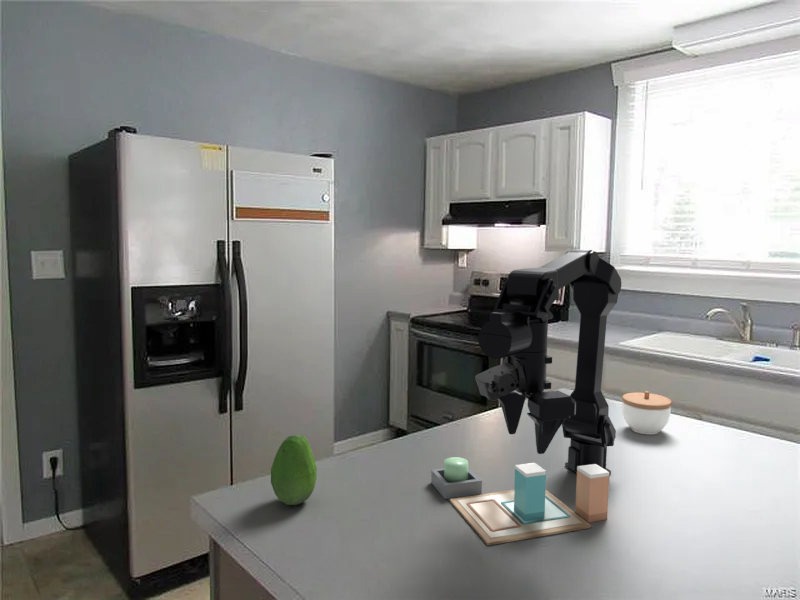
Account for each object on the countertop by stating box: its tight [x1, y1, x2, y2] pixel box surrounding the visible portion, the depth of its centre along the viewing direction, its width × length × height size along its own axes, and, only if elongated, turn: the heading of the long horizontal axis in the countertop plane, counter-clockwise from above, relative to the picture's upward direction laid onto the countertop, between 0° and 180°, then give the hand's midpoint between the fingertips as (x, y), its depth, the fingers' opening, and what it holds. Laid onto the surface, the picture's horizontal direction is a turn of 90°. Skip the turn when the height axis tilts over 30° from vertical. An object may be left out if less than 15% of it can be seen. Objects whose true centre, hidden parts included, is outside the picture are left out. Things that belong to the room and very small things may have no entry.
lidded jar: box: [621, 390, 673, 436], centre depth 137 cm, size 11×11×9 cm
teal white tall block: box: [513, 462, 547, 521], centre depth 95 cm, size 4×4×8 cm
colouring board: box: [449, 489, 592, 546], centre depth 97 cm, size 18×15×1 cm
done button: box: [443, 456, 469, 483], centre depth 106 cm, size 4×4×3 cm
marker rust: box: [574, 464, 610, 523], centre depth 96 cm, size 4×4×8 cm
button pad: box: [430, 467, 483, 500], centre depth 106 cm, size 7×7×2 cm
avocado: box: [270, 434, 318, 506], centre depth 100 cm, size 8×8×12 cm
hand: (525, 443), depth 95 cm, fingers open, 9 cm apart
